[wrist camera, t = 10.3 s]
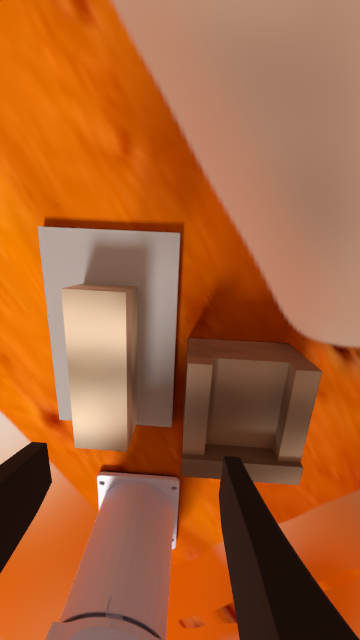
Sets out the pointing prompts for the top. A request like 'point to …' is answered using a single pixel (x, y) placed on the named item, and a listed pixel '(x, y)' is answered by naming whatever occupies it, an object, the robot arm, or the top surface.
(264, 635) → the robot arm
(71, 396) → the bar
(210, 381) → the holder
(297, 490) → the top surface
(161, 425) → the mat
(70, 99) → the top surface
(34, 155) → the top surface
